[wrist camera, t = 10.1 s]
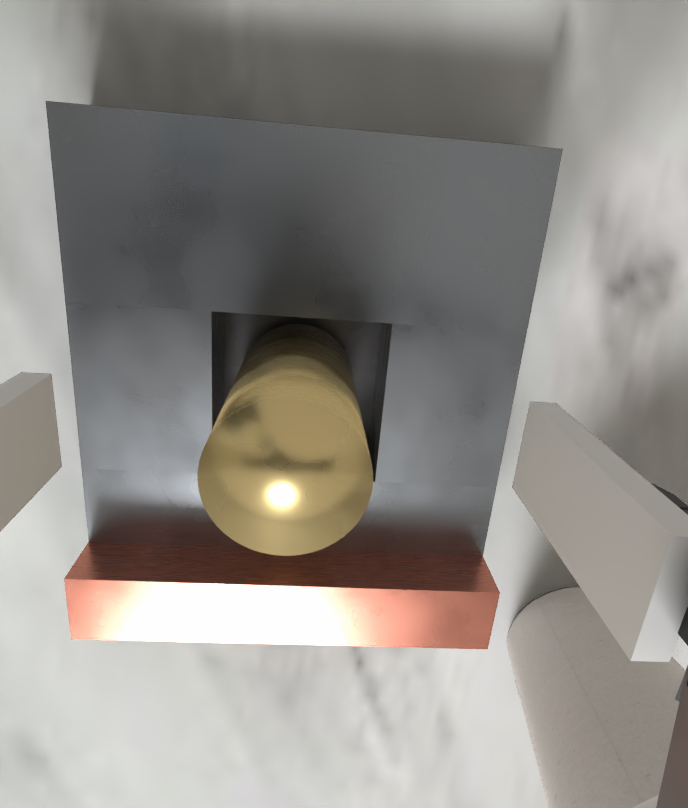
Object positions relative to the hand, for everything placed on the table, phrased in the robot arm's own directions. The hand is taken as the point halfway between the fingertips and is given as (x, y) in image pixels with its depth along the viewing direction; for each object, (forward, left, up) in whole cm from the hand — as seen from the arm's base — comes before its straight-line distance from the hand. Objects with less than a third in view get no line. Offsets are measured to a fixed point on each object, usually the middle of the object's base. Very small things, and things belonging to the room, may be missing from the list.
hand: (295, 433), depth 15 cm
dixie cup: (+12, +13, -6) cm, 19 cm away
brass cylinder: (0, 0, -5) cm, 5 cm away
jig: (0, 0, -6) cm, 6 cm away
